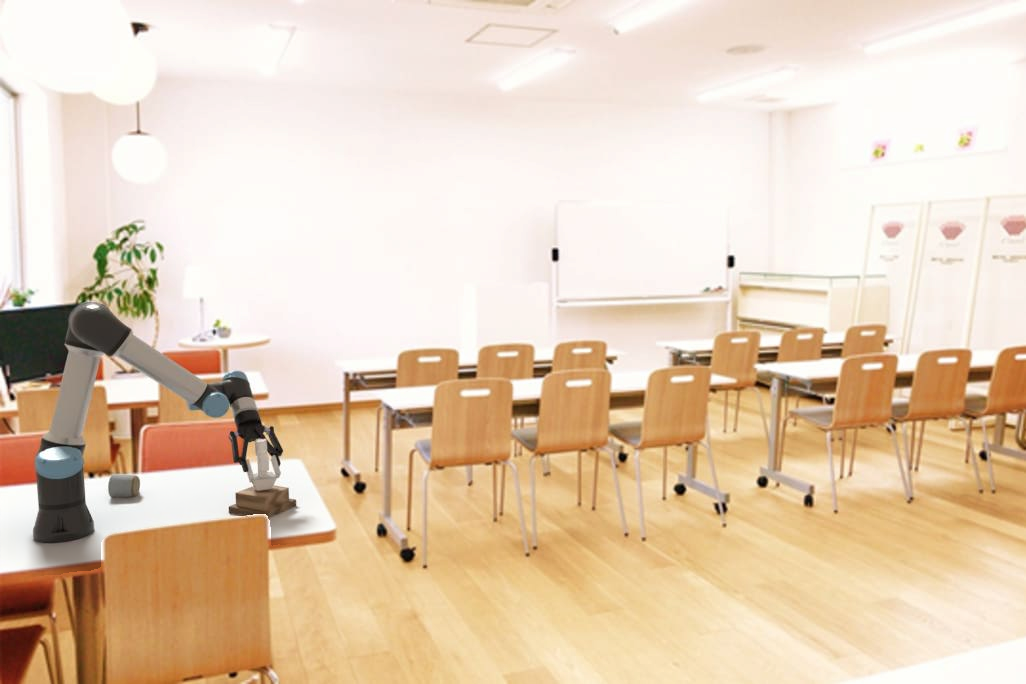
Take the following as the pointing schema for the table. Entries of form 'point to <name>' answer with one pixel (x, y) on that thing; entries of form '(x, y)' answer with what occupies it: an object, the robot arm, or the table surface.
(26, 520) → the table surface
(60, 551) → the table surface
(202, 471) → the table surface
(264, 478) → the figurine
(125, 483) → the ceramic mug
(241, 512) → the walnut plinth
